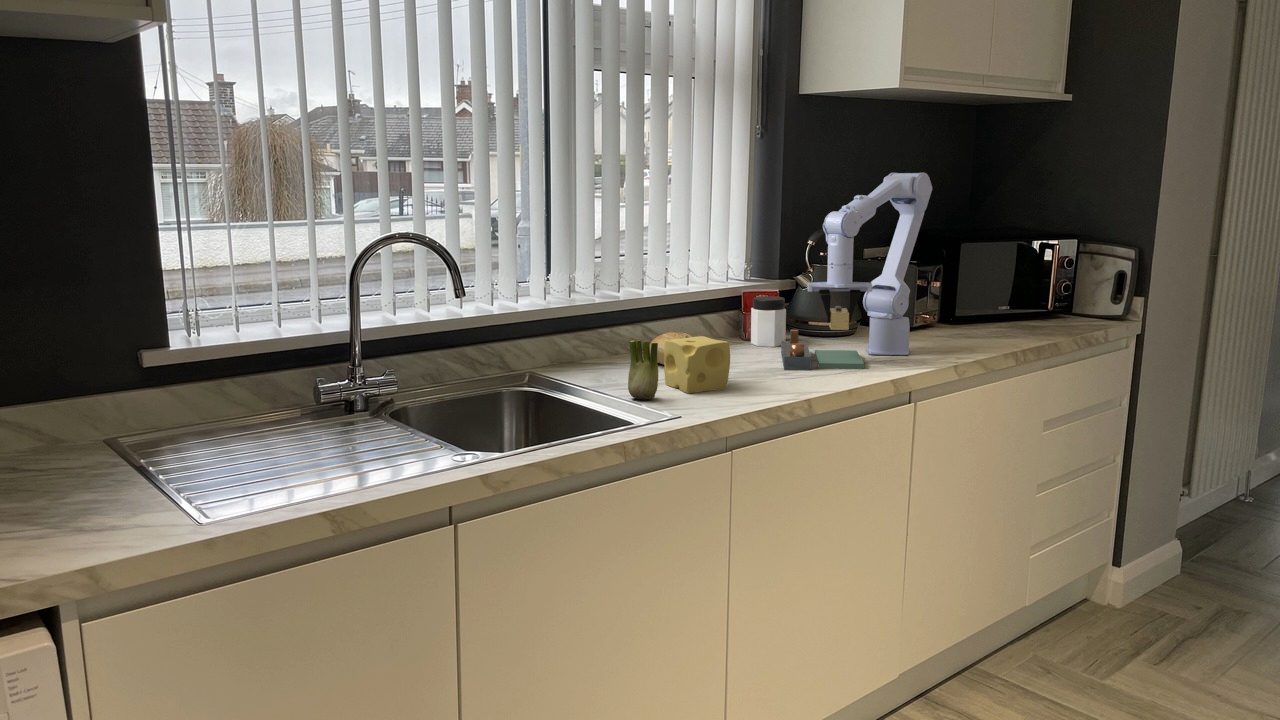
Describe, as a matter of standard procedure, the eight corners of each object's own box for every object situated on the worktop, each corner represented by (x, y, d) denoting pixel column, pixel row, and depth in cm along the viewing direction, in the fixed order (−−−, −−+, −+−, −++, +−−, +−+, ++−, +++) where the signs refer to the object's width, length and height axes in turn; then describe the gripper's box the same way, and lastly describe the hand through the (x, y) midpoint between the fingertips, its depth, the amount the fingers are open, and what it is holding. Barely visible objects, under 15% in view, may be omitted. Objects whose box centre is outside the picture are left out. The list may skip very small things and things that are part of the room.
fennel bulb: (661, 399, 194) (661, 340, 192) (643, 403, 191) (642, 343, 189) (642, 394, 199) (641, 336, 196) (623, 398, 195) (622, 339, 193)
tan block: (828, 324, 231) (829, 305, 230) (845, 324, 231) (846, 305, 230) (830, 329, 224) (831, 310, 224) (848, 329, 224) (849, 310, 223)
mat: (856, 355, 236) (856, 350, 236) (863, 368, 221) (864, 363, 221) (814, 354, 238) (814, 350, 237) (819, 368, 222) (819, 363, 222)
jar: (769, 348, 246) (770, 301, 244) (744, 344, 252) (745, 298, 250) (791, 343, 252) (792, 297, 250) (766, 340, 258) (767, 295, 256)
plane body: (781, 353, 240) (781, 329, 239) (805, 353, 240) (806, 329, 239) (784, 369, 221) (784, 343, 220) (810, 370, 220) (811, 343, 219)
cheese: (687, 394, 198) (687, 346, 196) (662, 384, 208) (661, 338, 206) (730, 388, 203) (731, 341, 201) (703, 379, 212) (703, 334, 211)
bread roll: (668, 359, 235) (668, 326, 234) (711, 368, 224) (712, 334, 222) (637, 364, 229) (637, 331, 228) (681, 374, 218) (681, 339, 216)
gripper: (809, 265, 222) (808, 324, 224) (874, 265, 220) (872, 325, 223) (807, 262, 229) (806, 319, 231) (870, 262, 227) (868, 320, 230)
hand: (838, 322), depth 227 cm, fingers closed on tan block, 4 cm apart
